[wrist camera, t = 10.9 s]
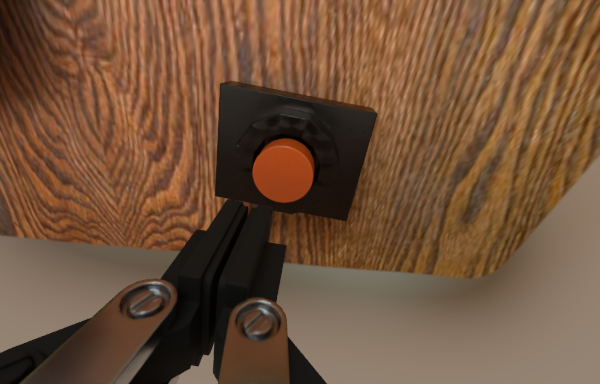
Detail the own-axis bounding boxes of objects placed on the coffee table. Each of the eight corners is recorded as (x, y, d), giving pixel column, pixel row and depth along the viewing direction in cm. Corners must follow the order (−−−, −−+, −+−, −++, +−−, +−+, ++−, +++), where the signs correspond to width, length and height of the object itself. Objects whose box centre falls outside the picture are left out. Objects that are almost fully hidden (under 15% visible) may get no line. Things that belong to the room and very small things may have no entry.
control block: (372, 108, 19) (382, 119, 16) (344, 207, 23) (348, 235, 19) (230, 80, 20) (209, 85, 16) (224, 184, 23) (205, 207, 19)
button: (319, 143, 17) (318, 152, 16) (308, 195, 19) (307, 208, 17) (261, 132, 17) (255, 140, 16) (255, 185, 19) (249, 197, 17)
